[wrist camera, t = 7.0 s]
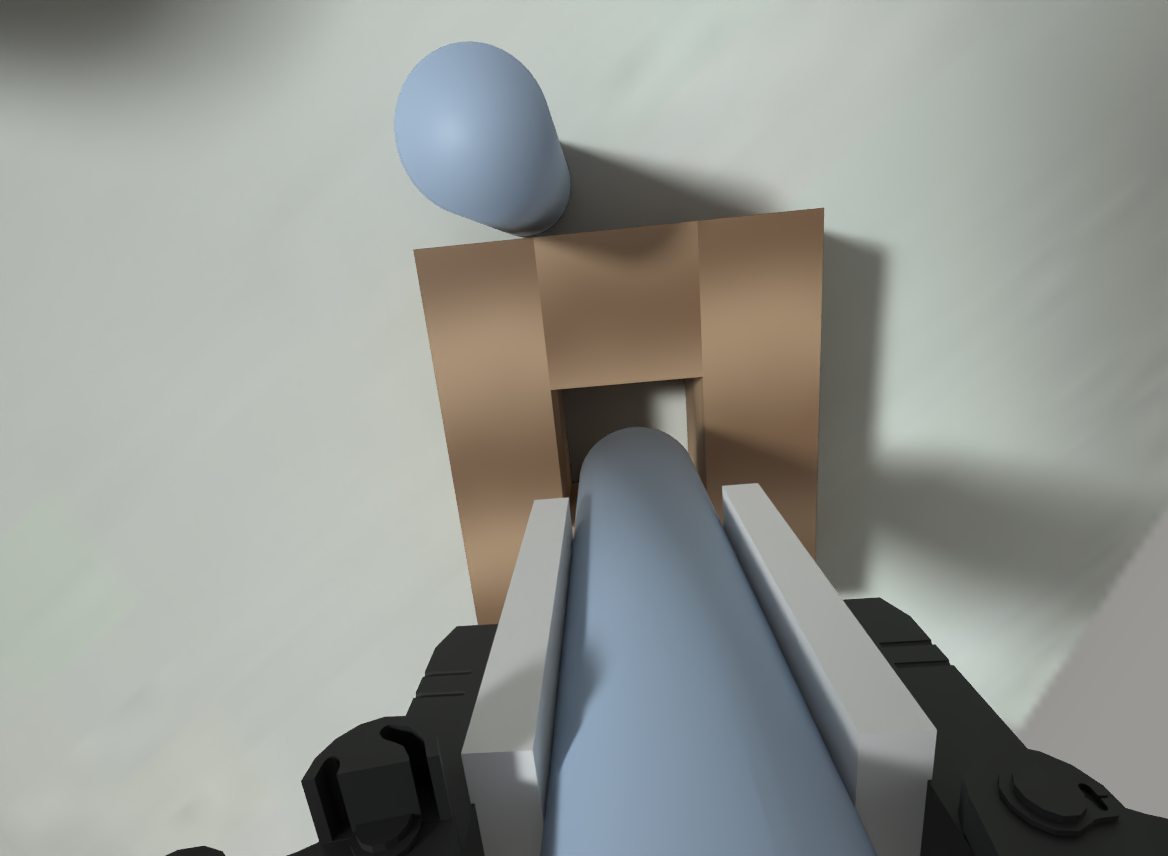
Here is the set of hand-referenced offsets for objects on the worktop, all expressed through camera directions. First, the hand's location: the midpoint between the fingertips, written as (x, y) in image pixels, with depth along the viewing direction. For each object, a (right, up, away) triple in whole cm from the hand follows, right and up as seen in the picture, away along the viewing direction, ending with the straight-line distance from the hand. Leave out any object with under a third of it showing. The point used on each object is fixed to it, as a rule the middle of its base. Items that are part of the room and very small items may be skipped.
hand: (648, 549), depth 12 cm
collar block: (0, +3, +10) cm, 10 cm away
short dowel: (-4, +11, +7) cm, 14 cm away
